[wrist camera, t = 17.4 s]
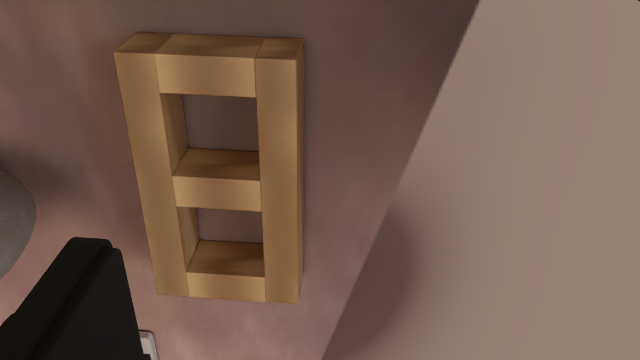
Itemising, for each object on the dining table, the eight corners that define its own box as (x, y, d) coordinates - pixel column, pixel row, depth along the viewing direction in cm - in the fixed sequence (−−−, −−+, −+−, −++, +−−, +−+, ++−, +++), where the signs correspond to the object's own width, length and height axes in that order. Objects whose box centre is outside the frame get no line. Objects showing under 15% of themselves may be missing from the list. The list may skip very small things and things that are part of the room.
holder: (303, 38, 36) (296, 60, 33) (303, 270, 46) (298, 304, 43) (136, 31, 37) (112, 52, 33) (173, 261, 47) (157, 294, 44)
